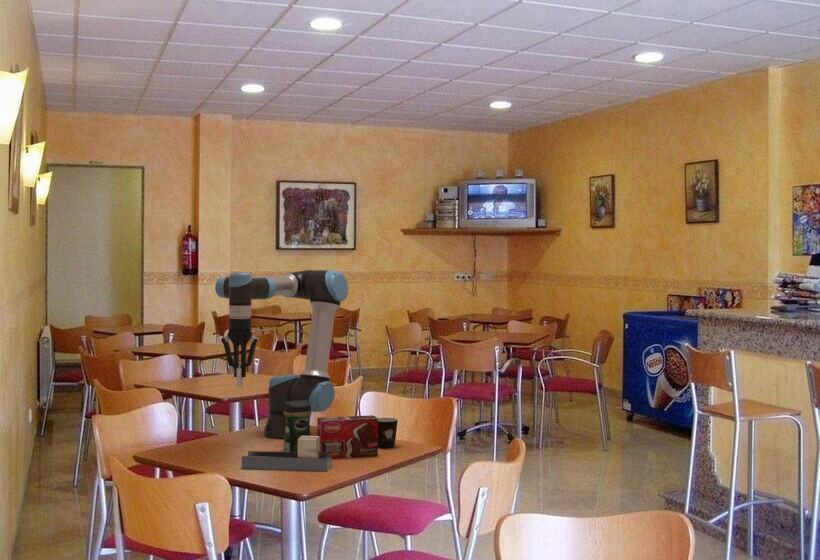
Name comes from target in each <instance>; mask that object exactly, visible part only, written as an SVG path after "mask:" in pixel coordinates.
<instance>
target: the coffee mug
mask: <svg viewBox="0 0 820 560" xmlns="http://www.w3.org/2000/svg"><path fill="white" fill-rule="evenodd" d="M377 418H378V449H382V448H383V449H382V450H384V449H385V450H389V449H388V448H390V449H393V448H395V445H396V438H397V428H398V420H399V419H398V418H395V417H377Z"/></svg>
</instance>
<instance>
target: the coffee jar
mask: <svg viewBox="0 0 820 560" xmlns="http://www.w3.org/2000/svg"><path fill="white" fill-rule="evenodd" d="M283 412H284V416H285V420H286V426H285V438H283V452H298V439H299V438H300V437H301V436H312V435H311V427H310V426H311V425H310V422H311V421H310V419H311V416H312V413H313V412H312V411H311V404H310V402H309V401H306V400H298V401H289V402H285V404H284V411H283Z"/></svg>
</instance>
